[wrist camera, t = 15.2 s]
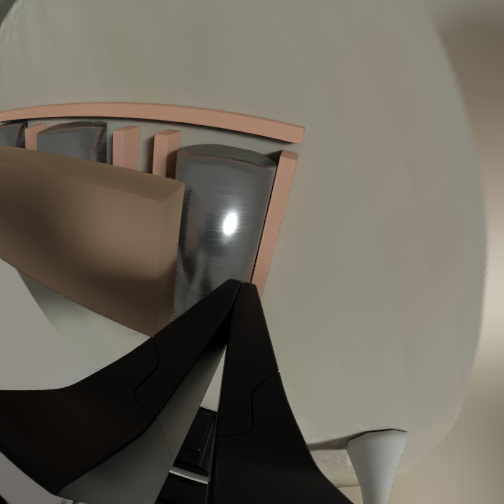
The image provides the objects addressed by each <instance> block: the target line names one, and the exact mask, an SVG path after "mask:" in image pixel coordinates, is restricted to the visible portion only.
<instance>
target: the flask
mask: <svg viewBox="0 0 504 504" xmlns="http://www.w3.org/2000/svg"><path fill="white" fill-rule="evenodd" d="M407 437H408V432H402V431H396V430H389V431H381V432H371V433H366V434H364V435H361V436H359V437H357V438H354V439H352V440H349V441H348V444H347V446H346V450H347V452H348V455H349V457H350V460H351V462H352V465H353V467H354V470H355V473H356V475H357V478H358V481H359V484H360V487H361V491H362V498H363V504H388V498H389V494H390V489H391V485H392V481H393V478H394V476H395V473H396V470H397V467H398V464H399V461H400V458H401V456H402V453H403V450H404V447H405V444H406V440H407Z"/></svg>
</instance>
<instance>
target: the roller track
mask: <svg viewBox="0 0 504 504" xmlns="http://www.w3.org/2000/svg"><path fill="white" fill-rule="evenodd" d="M58 116H110V117H131V118H146V119H157V120H168V121H177V122H185V123H193V124H200V125H207V126H213V127H220V128H226V129H231V130H237V131H242V132H248V133H253V134H258V135H262V136H267V137H272V138H276V139H280V140H285V141H289V142H293V143H297V144H301V141H302V137H303V133H304V128H305V127H301V126H297V125H293V124H289V123H284V122H280V121H275V120H271V119H266V118H261V117H256V116H251V115H245V114H239V113H233V112H227V111H221V110H213V109H206V108H198V107H189V106H179V105H167V104H153V103H130V102H91V103H69V104H56V105H45V106H36V107H28V108H21V109H14V110H8V111H3V112H0V121H6V120H15V119H26V118H39V117H58ZM60 124H65V123H59V124H56V125H60ZM56 125H53V126H56ZM53 126H50V127H53ZM50 127H47V128H50ZM47 128H45V124H37V125H34V126H31V127H28V128H26V129H25V143H26V149H30V150H36V151H37V137H36V135H37V133H38V132H40V131H42V130H44V129H47ZM180 137H181V131H178V130H170V129H168V130H165V131H163V132H160V133H157V134H155V140H154V156H153V174H154V175H158V176H162V177H166V178H170V179H174V180H175V176H176V164H177V153H178V151H179V147H180ZM138 143H139V126H126V127H122V128H119V129H116V130H113V165H114V166H119V167H123V168H128V169H132V170H137V171H138ZM297 158H298V153H294V152H290V151H285V150H283V152H282V154H281V156H280V161H279V165H278V169H277V174H276V178H275V183H274V187H273V191H272V196H271V200H270V205H269V209H268V213H267V218H266V222H265V226H264V231H263V235H262V239H261V244H260V248H259V252H258V257H257V261H256V265H255V270H254V274H253V278H252V283H253V284H255V285H256V286H257V289H258V293H259V297H260V300H261V297H262V293H263V289H264V286H265V282H266V278H267V275H268V271H269V267H270V264H271V260H272V256H273V252H274V249H275V245H276V241H277V237H278V234H279V230H280V226H281V222H282V218H283V214H284V211H285V207H286V203H287V199H288V195H289V191H290V187H291V183H292V179H293V175H294V171H295V167H296V163H297Z"/></svg>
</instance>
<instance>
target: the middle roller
mask: <svg viewBox="0 0 504 504" xmlns="http://www.w3.org/2000/svg"><path fill="white" fill-rule="evenodd" d="M36 137H37V151H42V152H47V153H54V154H59V155H65V156H70V157H75V158H81V159H86V160H91V161H95V162H100V163H105V164H107V123H106V122H103V121H78V122H71V123H65V124H60V125H56V126H53V127H50V128H47V129H44V130H42V131H40V132H38V133H37V135H36Z"/></svg>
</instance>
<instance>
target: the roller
mask: <svg viewBox="0 0 504 504" xmlns="http://www.w3.org/2000/svg"><path fill="white" fill-rule="evenodd" d="M25 129H26V120H23V121H14V122H10V123H6V124H3V125H0V145H4V146H11V147H17V148H24V149H26V143H25Z"/></svg>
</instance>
